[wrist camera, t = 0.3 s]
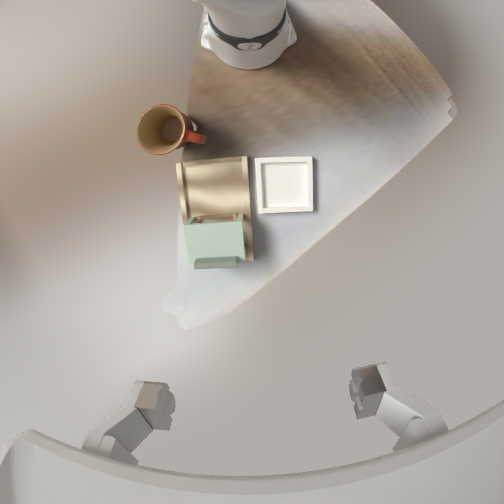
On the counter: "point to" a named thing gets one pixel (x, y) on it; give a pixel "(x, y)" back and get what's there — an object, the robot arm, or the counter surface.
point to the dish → (284, 184)
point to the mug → (166, 130)
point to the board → (217, 193)
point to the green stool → (215, 243)
